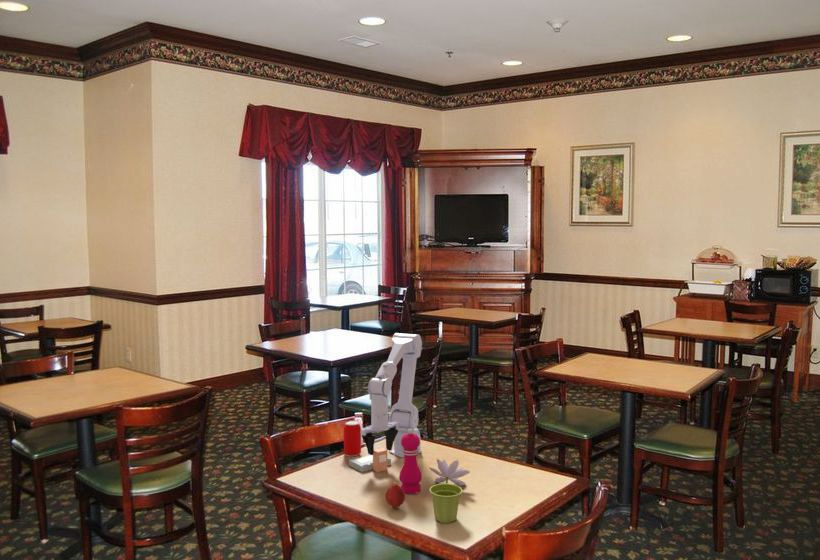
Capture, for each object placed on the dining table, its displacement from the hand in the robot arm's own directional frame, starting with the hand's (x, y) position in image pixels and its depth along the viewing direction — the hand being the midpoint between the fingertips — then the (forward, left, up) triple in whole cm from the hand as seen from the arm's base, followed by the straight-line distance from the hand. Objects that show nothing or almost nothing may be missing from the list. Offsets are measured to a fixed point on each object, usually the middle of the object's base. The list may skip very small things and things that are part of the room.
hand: (379, 452), depth 238 cm
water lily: (-9, +27, -7) cm, 29 cm away
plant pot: (+8, +44, -7) cm, 45 cm away
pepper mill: (+3, +21, -7) cm, 22 cm away
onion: (+15, +29, -7) cm, 33 cm away
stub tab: (0, 0, -6) cm, 6 cm away
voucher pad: (0, -6, -6) cm, 9 cm away
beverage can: (-1, -19, -7) cm, 20 cm away
